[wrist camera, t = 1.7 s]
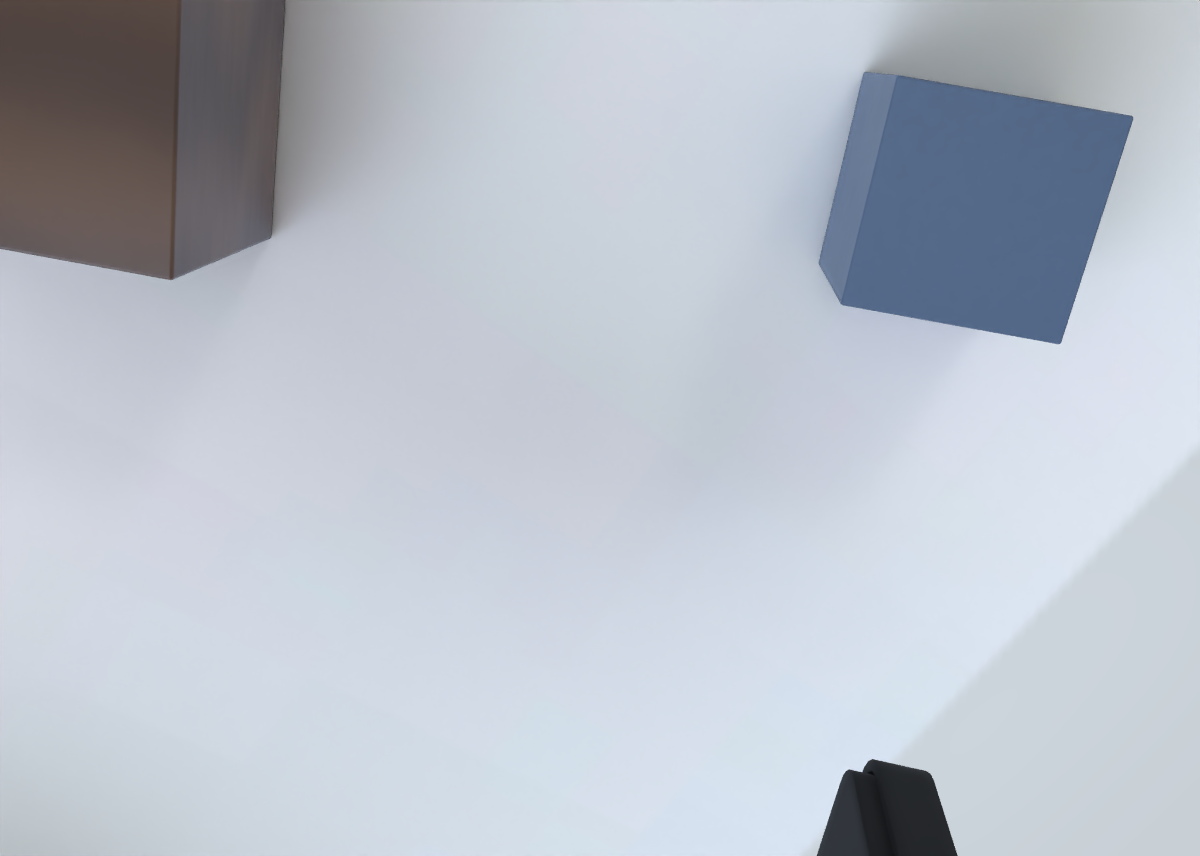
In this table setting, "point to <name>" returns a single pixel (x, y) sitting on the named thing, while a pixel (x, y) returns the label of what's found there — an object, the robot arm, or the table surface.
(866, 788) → the robot arm
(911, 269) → the blue cube
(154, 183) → the walnut base
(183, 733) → the table surface
